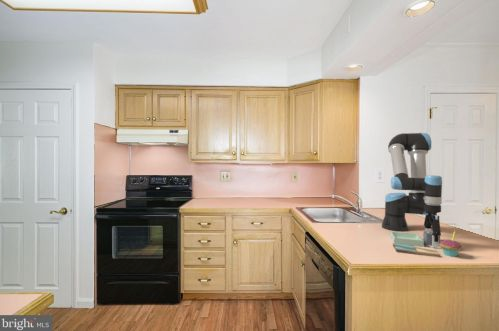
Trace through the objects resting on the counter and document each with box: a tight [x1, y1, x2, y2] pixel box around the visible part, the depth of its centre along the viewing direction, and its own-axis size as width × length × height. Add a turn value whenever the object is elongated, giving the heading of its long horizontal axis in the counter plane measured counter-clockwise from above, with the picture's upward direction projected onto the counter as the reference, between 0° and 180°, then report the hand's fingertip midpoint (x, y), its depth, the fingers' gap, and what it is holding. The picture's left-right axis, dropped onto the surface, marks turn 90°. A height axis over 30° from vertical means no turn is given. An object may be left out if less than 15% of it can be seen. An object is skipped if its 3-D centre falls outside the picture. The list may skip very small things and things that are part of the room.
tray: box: [389, 230, 425, 247], centre depth 143 cm, size 14×14×3 cm
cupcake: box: [439, 231, 463, 258], centre depth 123 cm, size 9×8×12 cm
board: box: [392, 242, 441, 258], centre depth 128 cm, size 11×18×1 cm, turn 69°
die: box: [422, 230, 441, 248], centre depth 139 cm, size 6×6×6 cm
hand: (431, 243), depth 139 cm, fingers open, 12 cm apart
